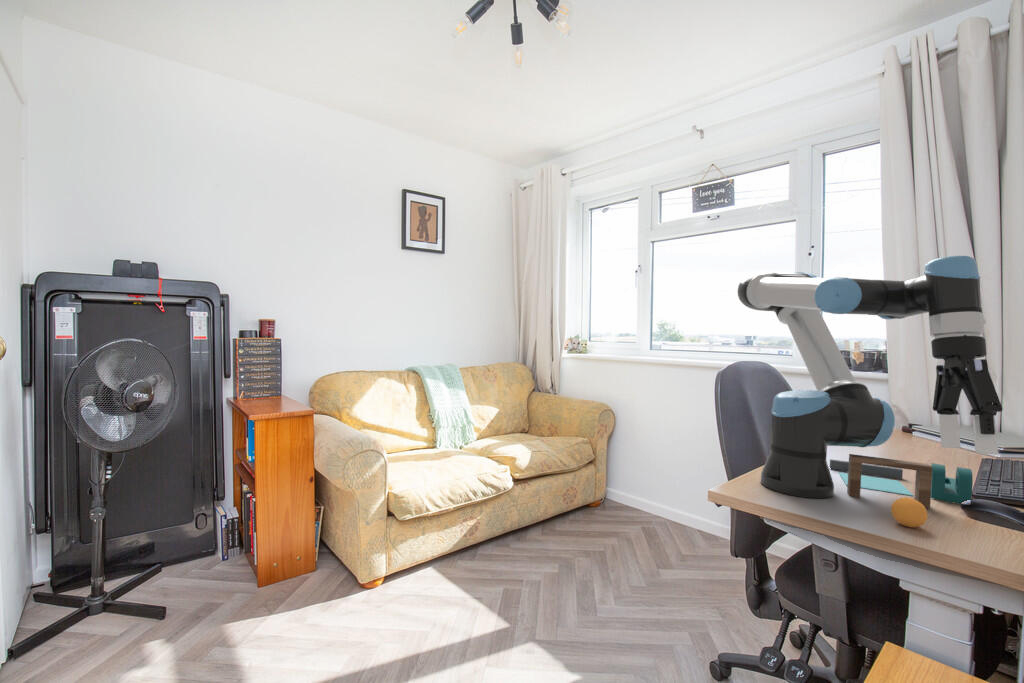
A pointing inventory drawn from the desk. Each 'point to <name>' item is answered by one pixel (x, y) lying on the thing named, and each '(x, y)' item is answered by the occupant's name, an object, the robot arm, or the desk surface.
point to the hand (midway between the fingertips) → (967, 450)
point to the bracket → (951, 484)
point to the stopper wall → (869, 469)
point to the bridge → (922, 469)
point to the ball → (909, 512)
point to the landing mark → (879, 484)
